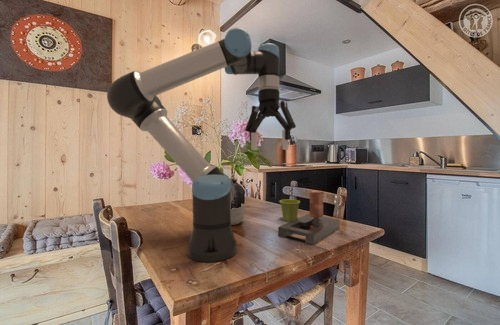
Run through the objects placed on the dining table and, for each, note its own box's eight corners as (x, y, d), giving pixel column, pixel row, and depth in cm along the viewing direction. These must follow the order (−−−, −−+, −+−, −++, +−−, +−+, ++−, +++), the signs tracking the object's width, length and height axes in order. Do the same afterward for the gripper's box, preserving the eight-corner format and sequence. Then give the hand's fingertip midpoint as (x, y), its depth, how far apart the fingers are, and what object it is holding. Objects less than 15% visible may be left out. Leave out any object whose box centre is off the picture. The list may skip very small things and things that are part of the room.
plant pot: (278, 222, 108) (278, 202, 108) (280, 216, 117) (280, 198, 117) (299, 223, 106) (299, 203, 106) (300, 217, 115) (300, 199, 115)
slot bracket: (278, 236, 90) (278, 226, 90) (307, 221, 108) (307, 214, 108) (313, 244, 81) (313, 234, 81) (339, 227, 99) (339, 219, 99)
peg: (306, 228, 98) (307, 191, 98) (312, 225, 103) (313, 190, 102) (320, 231, 95) (320, 193, 94) (325, 228, 99) (325, 191, 98)
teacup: (240, 227, 101) (240, 208, 100) (215, 225, 103) (215, 207, 102) (247, 218, 114) (247, 201, 114) (225, 217, 116) (225, 200, 116)
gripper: (305, 86, 82) (305, 149, 82) (248, 97, 98) (249, 150, 98) (294, 81, 76) (294, 149, 77) (236, 94, 92) (236, 150, 93)
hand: (268, 150), depth 87 cm, fingers open, 13 cm apart
